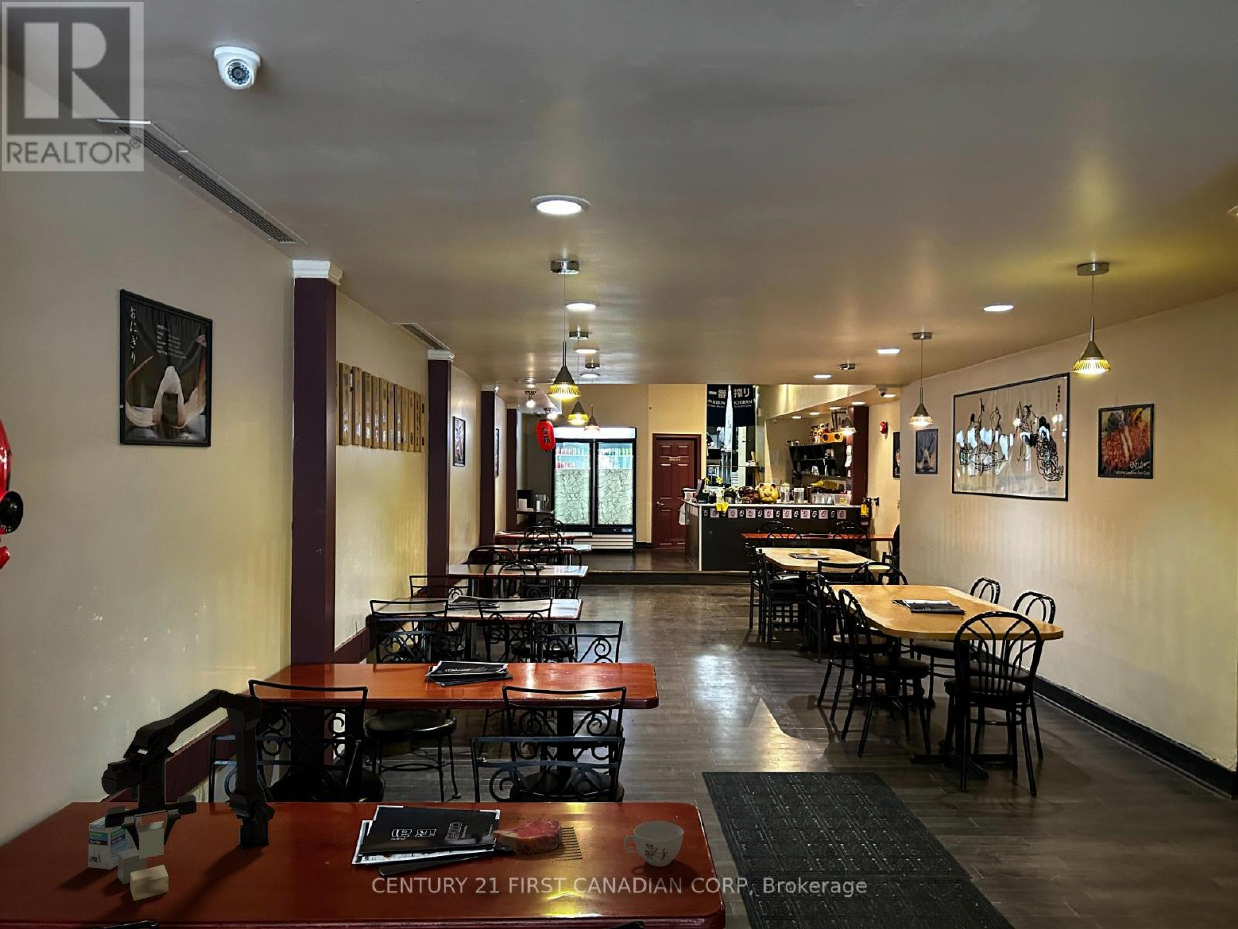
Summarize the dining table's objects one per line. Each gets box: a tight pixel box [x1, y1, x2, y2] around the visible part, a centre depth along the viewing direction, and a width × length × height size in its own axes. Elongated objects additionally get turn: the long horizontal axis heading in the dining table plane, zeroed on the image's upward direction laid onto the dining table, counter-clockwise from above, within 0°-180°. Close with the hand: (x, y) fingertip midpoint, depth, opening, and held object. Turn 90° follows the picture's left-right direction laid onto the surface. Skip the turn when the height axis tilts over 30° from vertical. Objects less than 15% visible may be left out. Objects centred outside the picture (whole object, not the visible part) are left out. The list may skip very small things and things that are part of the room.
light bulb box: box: [88, 808, 143, 870], centre depth 215 cm, size 11×7×11 cm, turn 168°
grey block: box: [117, 848, 148, 885], centre depth 205 cm, size 5×5×6 cm
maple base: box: [129, 864, 169, 902], centre depth 199 cm, size 7×7×4 cm
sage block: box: [139, 820, 165, 859], centre depth 200 cm, size 5×5×6 cm
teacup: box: [623, 820, 685, 868], centre depth 214 cm, size 15×12×8 cm
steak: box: [492, 817, 584, 863], centre depth 223 cm, size 25×21×6 cm
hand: (151, 847), depth 200 cm, fingers closed on sage block, 5 cm apart
